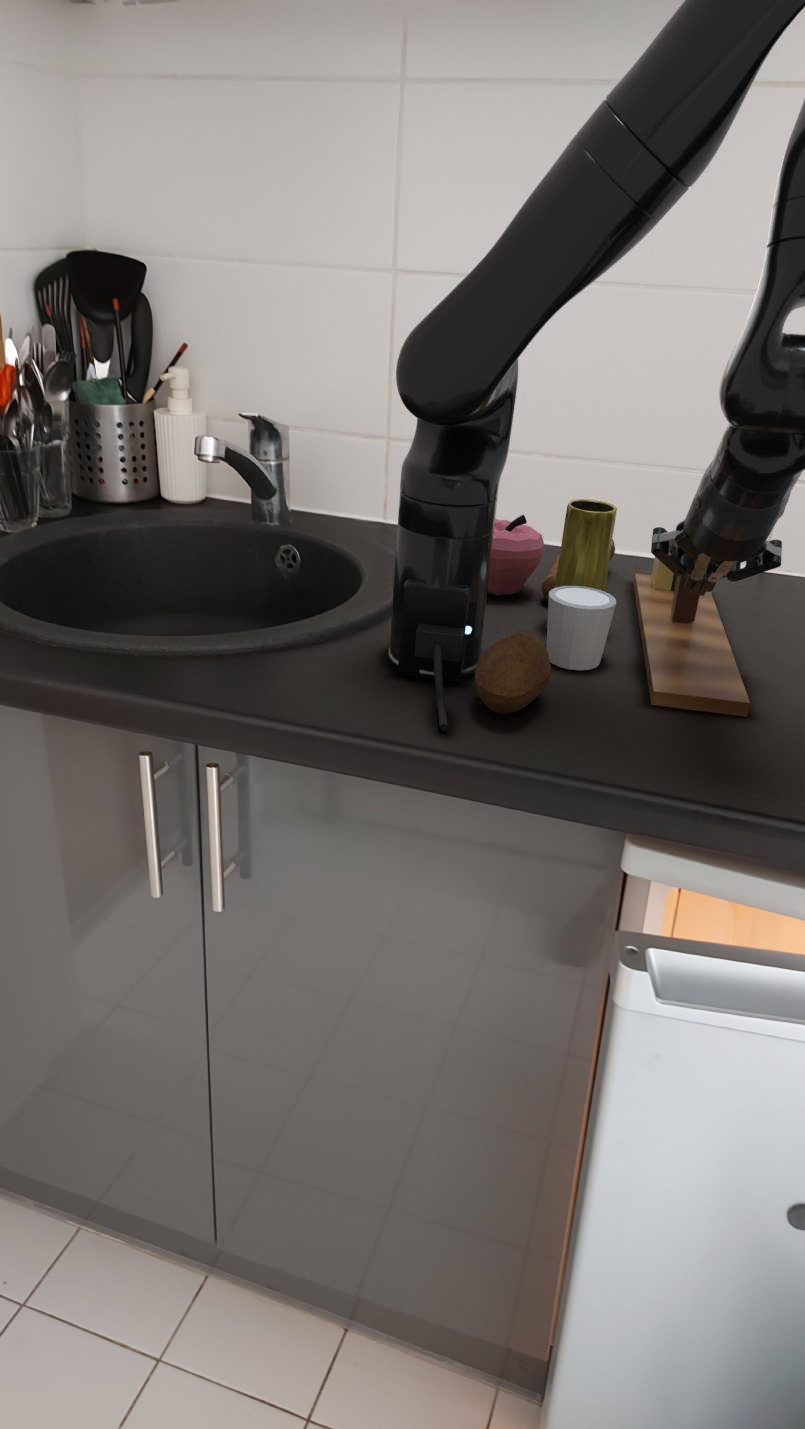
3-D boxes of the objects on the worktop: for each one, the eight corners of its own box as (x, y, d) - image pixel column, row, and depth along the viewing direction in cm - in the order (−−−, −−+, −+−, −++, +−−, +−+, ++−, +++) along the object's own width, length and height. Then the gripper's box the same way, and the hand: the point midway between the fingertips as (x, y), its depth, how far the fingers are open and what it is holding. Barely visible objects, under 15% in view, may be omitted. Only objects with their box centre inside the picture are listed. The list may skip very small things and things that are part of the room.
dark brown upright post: (694, 621, 113) (710, 545, 109) (672, 619, 113) (687, 543, 109) (679, 570, 129) (693, 503, 125) (660, 568, 129) (673, 500, 125)
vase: (550, 640, 110) (569, 511, 103) (541, 620, 115) (558, 496, 109) (606, 643, 110) (627, 515, 104) (594, 622, 116) (614, 499, 109)
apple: (523, 579, 127) (532, 501, 123) (549, 604, 120) (560, 522, 115) (451, 581, 125) (458, 502, 120) (472, 606, 118) (481, 523, 113)
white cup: (565, 676, 101) (575, 611, 98) (527, 651, 107) (535, 588, 104) (619, 667, 104) (630, 603, 101) (579, 642, 110) (589, 581, 107)
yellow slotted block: (695, 593, 122) (702, 562, 121) (653, 588, 123) (659, 557, 121) (691, 580, 127) (697, 549, 125) (651, 576, 127) (656, 545, 125)
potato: (458, 724, 90) (465, 653, 87) (485, 675, 100) (492, 609, 97) (533, 738, 89) (542, 666, 86) (552, 687, 99) (562, 621, 96)
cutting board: (746, 717, 96) (750, 702, 95) (650, 705, 97) (653, 691, 96) (704, 592, 128) (707, 581, 127) (633, 584, 129) (635, 573, 128)
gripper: (816, 472, 90) (762, 562, 107) (666, 457, 92) (636, 548, 108) (814, 547, 88) (759, 627, 104) (660, 530, 89) (630, 612, 106)
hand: (696, 587), depth 106 cm, fingers closed
